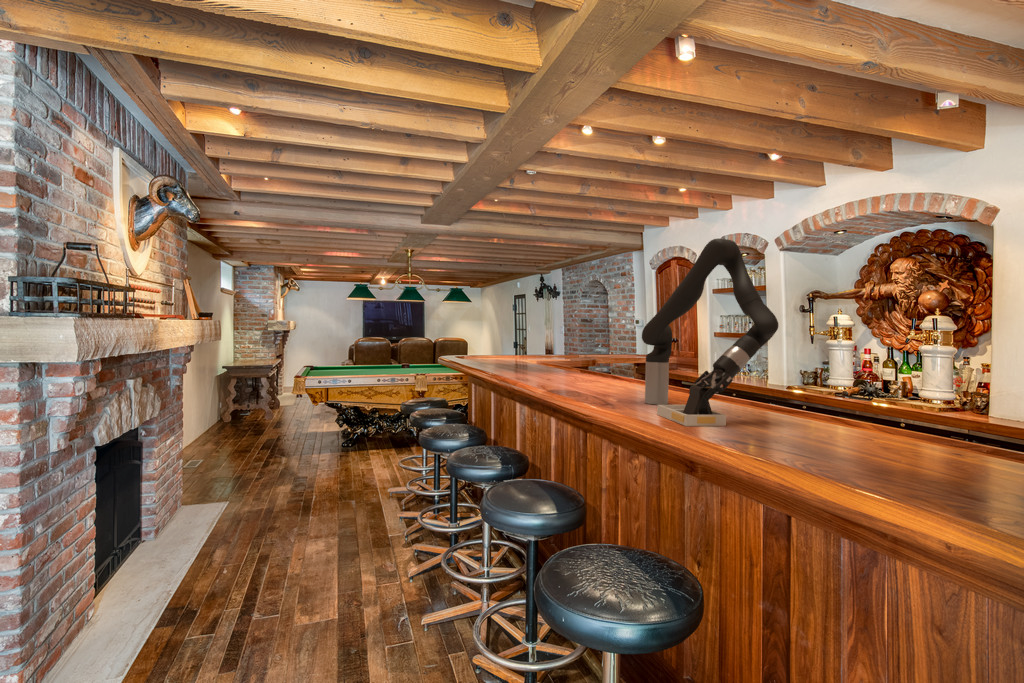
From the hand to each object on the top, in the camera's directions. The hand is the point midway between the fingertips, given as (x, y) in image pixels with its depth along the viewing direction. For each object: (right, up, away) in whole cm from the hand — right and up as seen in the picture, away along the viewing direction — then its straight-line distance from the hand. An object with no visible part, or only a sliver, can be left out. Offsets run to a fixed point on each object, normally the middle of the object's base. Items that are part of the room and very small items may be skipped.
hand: (697, 397), depth 159 cm
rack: (-1, -8, +5) cm, 10 cm away
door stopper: (0, -9, 0) cm, 9 cm away
